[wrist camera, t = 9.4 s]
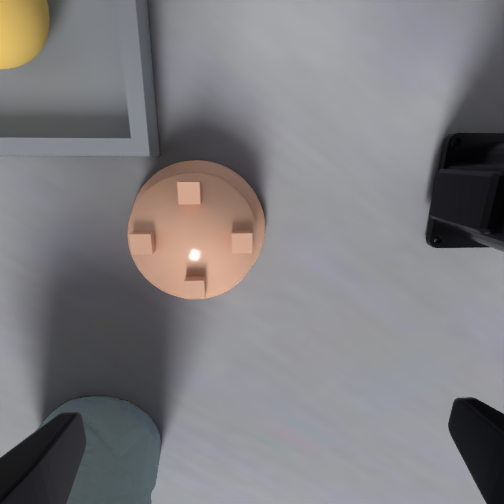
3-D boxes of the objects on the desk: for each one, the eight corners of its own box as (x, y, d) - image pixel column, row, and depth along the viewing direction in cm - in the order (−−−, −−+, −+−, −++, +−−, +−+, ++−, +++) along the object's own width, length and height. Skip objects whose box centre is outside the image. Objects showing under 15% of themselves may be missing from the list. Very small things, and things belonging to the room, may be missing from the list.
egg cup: (265, 160, 17) (272, 161, 14) (263, 285, 19) (269, 313, 16) (127, 159, 17) (98, 160, 13) (141, 287, 19) (120, 316, 16)
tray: (135, -136, 13) (117, -189, 11) (160, 156, 17) (149, 156, 15) (-162, -151, 13) (-237, -210, 11) (-71, 155, 16) (-114, 155, 14)
